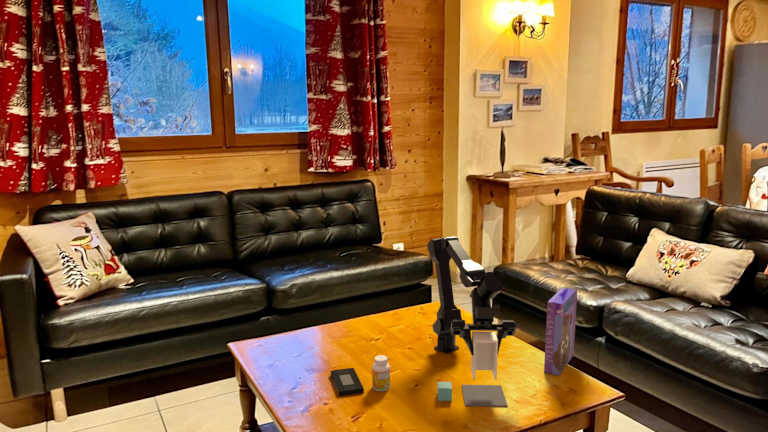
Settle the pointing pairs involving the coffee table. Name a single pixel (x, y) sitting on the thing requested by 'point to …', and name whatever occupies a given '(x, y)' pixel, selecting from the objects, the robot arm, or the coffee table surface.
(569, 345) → the cereal box
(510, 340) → the coffee table surface
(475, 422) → the coffee table surface
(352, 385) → the vhs tape
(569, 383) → the coffee table surface
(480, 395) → the mat
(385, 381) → the supplement bottle
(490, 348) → the white boxy piece
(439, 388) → the teal cube
